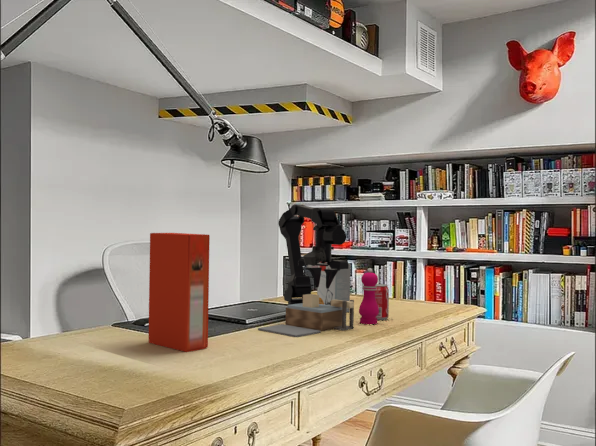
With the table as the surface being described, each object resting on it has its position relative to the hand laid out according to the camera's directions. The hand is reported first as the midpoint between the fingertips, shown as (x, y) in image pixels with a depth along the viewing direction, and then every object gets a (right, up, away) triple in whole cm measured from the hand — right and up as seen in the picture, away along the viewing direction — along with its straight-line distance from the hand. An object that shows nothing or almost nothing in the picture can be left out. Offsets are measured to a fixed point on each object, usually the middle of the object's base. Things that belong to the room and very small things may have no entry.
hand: (322, 288), depth 218 cm
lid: (-3, -7, -3) cm, 8 cm away
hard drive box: (+6, -13, +37) cm, 40 cm away
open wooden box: (-1, -13, -4) cm, 14 cm away
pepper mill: (+17, -14, +6) cm, 23 cm away
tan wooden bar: (+7, -6, -6) cm, 11 cm away
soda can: (+22, -14, +16) cm, 31 cm away
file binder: (-43, -12, -41) cm, 61 cm away
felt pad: (-11, -13, -14) cm, 22 cm away
